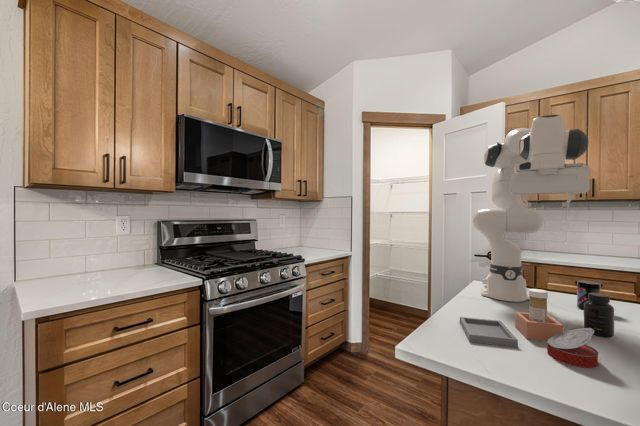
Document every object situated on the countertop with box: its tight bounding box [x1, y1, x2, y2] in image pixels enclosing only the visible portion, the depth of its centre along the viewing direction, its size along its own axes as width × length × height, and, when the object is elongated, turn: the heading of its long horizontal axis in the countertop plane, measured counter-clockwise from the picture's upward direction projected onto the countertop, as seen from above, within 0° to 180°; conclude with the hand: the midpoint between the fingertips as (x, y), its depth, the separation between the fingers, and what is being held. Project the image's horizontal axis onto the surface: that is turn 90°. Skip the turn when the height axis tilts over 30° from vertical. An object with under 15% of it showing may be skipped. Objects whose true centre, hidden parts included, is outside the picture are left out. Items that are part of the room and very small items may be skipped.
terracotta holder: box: [514, 311, 564, 342], centre depth 89 cm, size 9×9×5 cm
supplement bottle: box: [583, 292, 615, 339], centre depth 90 cm, size 7×7×12 cm
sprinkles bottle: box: [528, 288, 549, 323], centre depth 89 cm, size 5×5×14 cm
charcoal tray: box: [459, 316, 519, 348], centre depth 89 cm, size 15×12×2 cm
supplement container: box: [576, 279, 602, 311], centre depth 114 cm, size 7×7×10 cm
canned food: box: [546, 327, 599, 369], centre depth 74 cm, size 11×10×10 cm
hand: (546, 208), depth 94 cm, fingers open, 8 cm apart
